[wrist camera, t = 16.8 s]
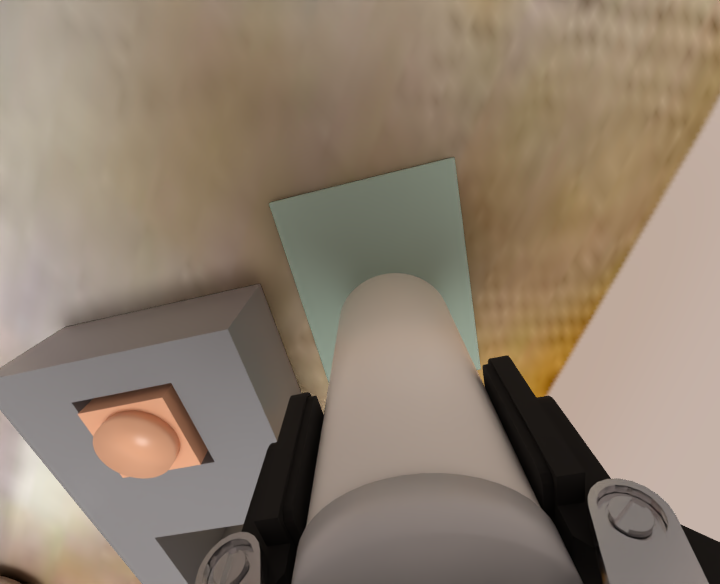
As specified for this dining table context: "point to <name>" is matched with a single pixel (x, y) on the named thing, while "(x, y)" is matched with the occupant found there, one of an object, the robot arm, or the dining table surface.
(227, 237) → the dining table surface
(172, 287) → the dining table surface
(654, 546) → the robot arm
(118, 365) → the housing
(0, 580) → the plastic bottle
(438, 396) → the cylinder
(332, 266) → the mat
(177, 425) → the square push button
